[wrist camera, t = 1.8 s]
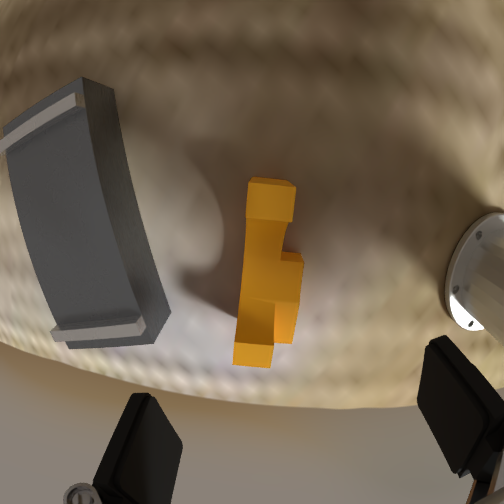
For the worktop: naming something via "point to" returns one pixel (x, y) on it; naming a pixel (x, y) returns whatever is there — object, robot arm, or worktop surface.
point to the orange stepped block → (267, 274)
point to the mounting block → (84, 219)
